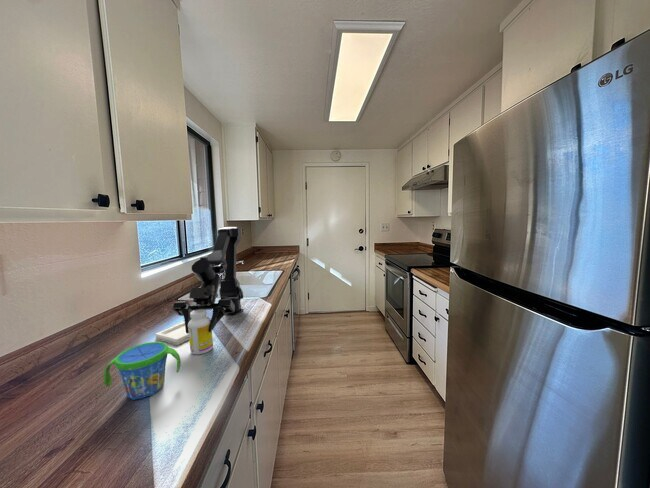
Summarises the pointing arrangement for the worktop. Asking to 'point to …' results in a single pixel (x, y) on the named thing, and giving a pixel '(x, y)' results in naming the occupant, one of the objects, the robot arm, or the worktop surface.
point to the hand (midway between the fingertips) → (198, 332)
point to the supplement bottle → (200, 332)
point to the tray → (174, 334)
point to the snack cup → (142, 368)
